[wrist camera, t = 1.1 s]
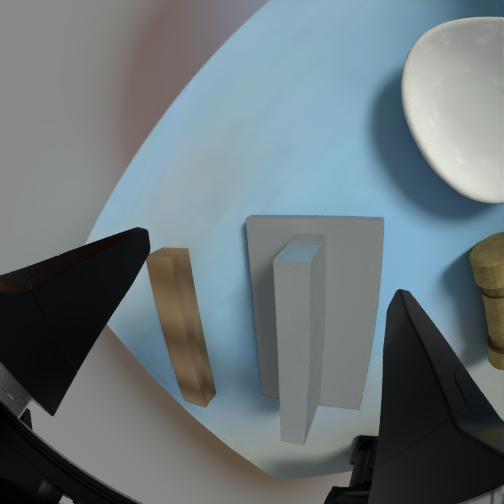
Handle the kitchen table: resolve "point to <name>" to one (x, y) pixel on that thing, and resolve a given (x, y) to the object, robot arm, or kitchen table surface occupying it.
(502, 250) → the gavel
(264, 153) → the kitchen table surface
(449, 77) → the spoon rest
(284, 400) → the steel ridge
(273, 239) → the board
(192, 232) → the kitchen table surface
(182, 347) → the walnut batten
